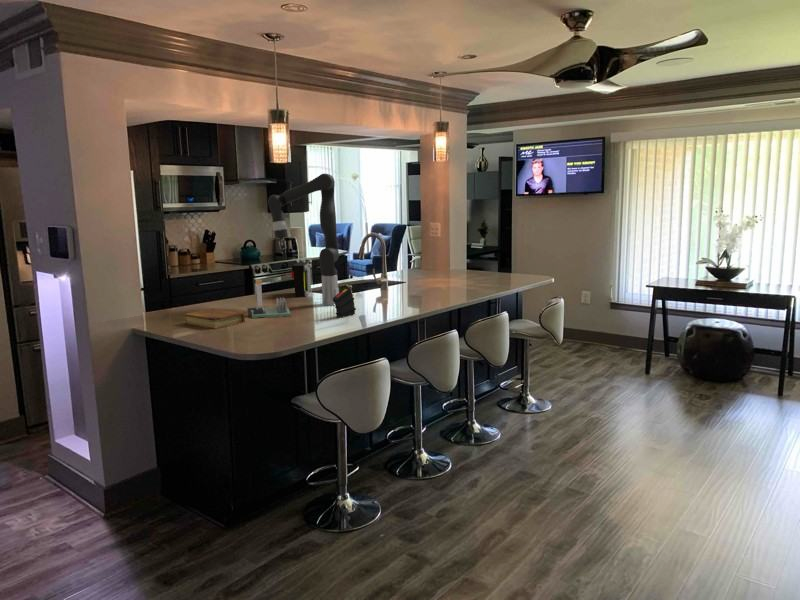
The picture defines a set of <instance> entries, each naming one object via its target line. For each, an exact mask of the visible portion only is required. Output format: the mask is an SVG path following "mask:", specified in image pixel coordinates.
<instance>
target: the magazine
mask: <svg viewBox="0 0 800 600" xmlns="http://www.w3.org/2000/svg"><path fill="white" fill-rule="evenodd" d="M352 291H353V290H352V289H351V288H350V287H349V286H348V287H345V288H343V289H342V290H341V291H339V293H338V294H337V295H336V296H335V297H333V302H335V305H334V308H335V310H336V312H335V315H336V317H337V318H340V317H341V318H344V317H343V316H346V317H349V316H348V315H351V316H354V315H353V314H355V315H356V310H357V308H356V306H355V297H354V296H353V293H352Z"/></svg>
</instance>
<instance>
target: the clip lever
mask: <svg viewBox="0 0 800 600" xmlns="http://www.w3.org/2000/svg"><path fill="white" fill-rule="evenodd" d="M255 284H256V298H257V300H256V301H257V307H256V308H257V309H263V313H264V308H263V293H262V292H263V291H262V284H263V279H256V280H255ZM253 313H254V310H253Z"/></svg>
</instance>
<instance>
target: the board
mask: <svg viewBox="0 0 800 600" xmlns="http://www.w3.org/2000/svg"><path fill="white" fill-rule="evenodd" d="M262 308H264V306H262ZM265 309H266V314H265V311H264V313H263V314H254V313H253V310H252V311H251V319H258V318H257V317H269V318H279V317H278V316H287V317H291V316H292V314H291V313H292V312H290V309H289V307H288V306H287V305H286V309H287V312H283V313H278V312H277V309H276V306H269V307H268V306H267V307H266V306H265Z"/></svg>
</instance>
